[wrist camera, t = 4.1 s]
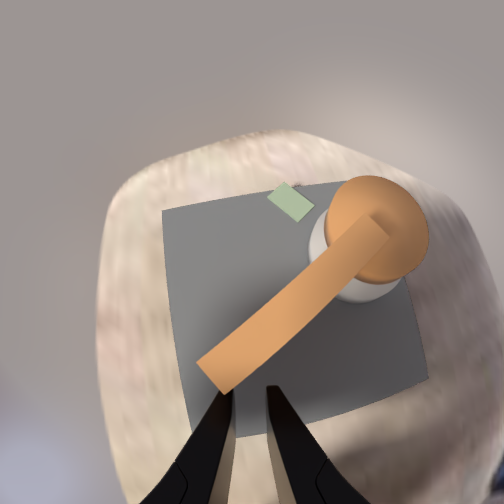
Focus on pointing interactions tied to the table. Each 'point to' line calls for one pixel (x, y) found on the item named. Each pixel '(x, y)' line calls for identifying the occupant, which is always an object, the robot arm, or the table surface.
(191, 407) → the base
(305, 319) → the lever cap
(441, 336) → the table surface
